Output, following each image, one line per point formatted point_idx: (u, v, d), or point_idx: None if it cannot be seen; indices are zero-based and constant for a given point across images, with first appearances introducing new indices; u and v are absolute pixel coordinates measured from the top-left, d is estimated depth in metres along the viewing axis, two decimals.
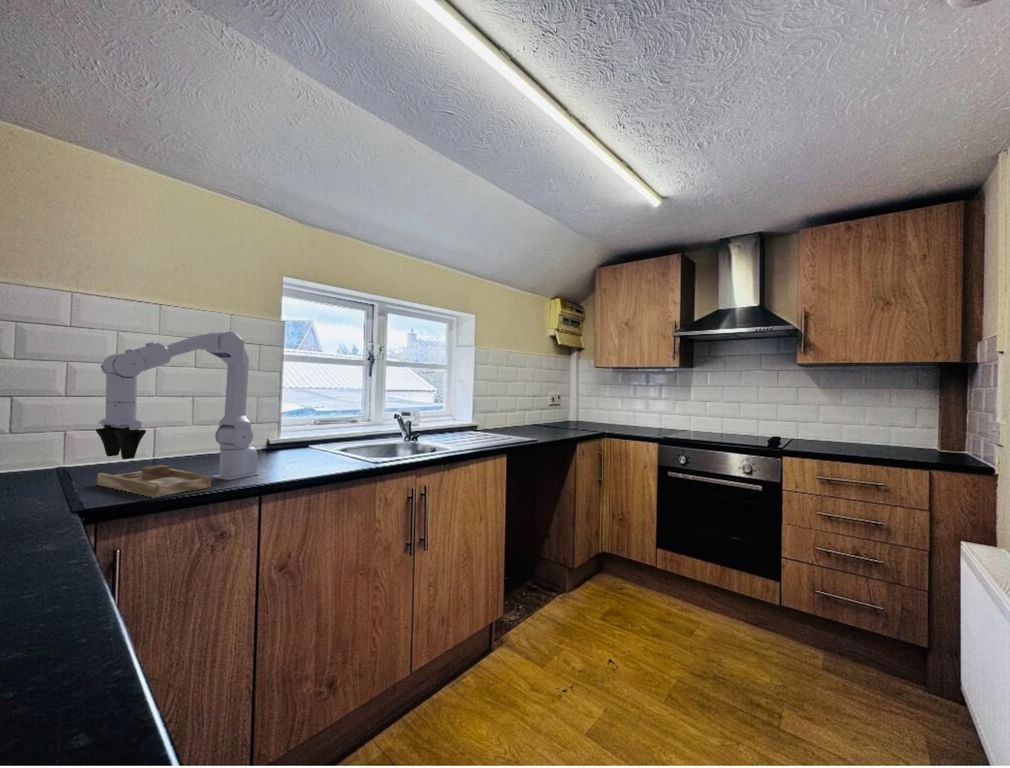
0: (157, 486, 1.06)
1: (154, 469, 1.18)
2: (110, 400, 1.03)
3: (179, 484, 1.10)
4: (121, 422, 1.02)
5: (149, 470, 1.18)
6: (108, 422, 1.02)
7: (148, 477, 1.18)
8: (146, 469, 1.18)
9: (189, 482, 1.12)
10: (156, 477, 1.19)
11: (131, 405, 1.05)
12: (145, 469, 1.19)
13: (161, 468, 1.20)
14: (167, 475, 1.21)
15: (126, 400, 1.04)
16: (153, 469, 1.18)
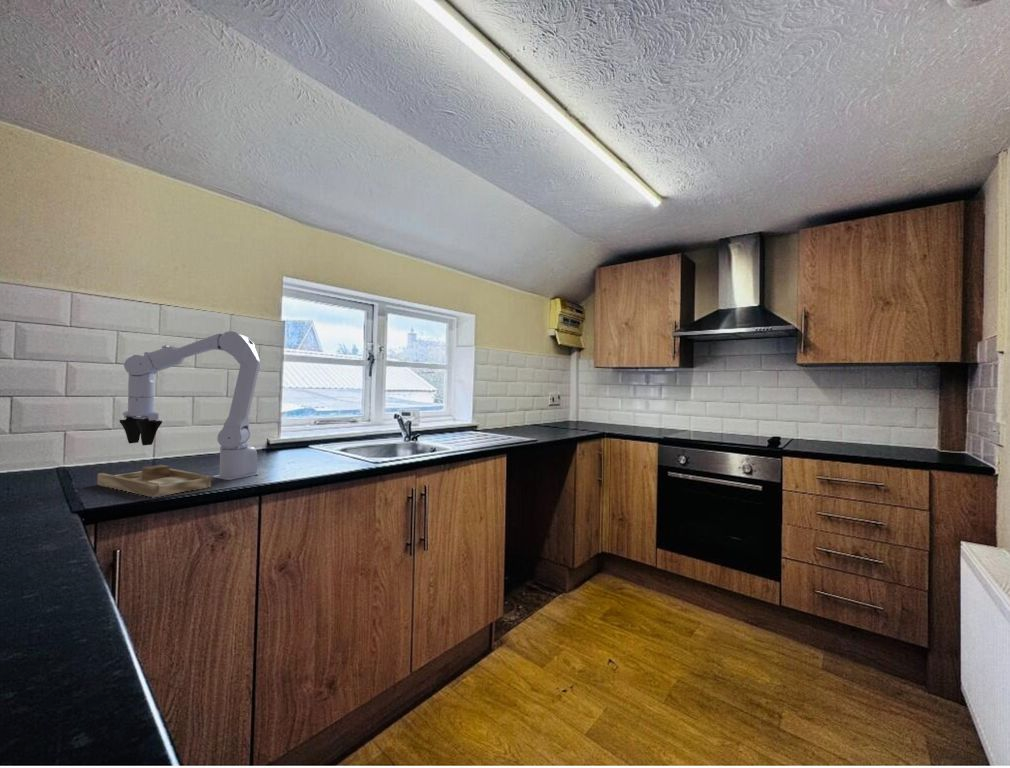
0: (157, 486, 1.06)
1: (154, 469, 1.18)
2: (128, 395, 1.22)
3: (179, 484, 1.10)
4: (141, 414, 1.21)
5: (149, 470, 1.18)
6: (130, 414, 1.21)
7: (148, 477, 1.18)
8: (146, 469, 1.18)
9: (189, 482, 1.12)
10: (156, 477, 1.19)
11: (149, 399, 1.24)
12: (145, 469, 1.19)
13: (161, 468, 1.20)
14: (167, 475, 1.21)
15: (135, 395, 1.21)
16: (153, 469, 1.18)
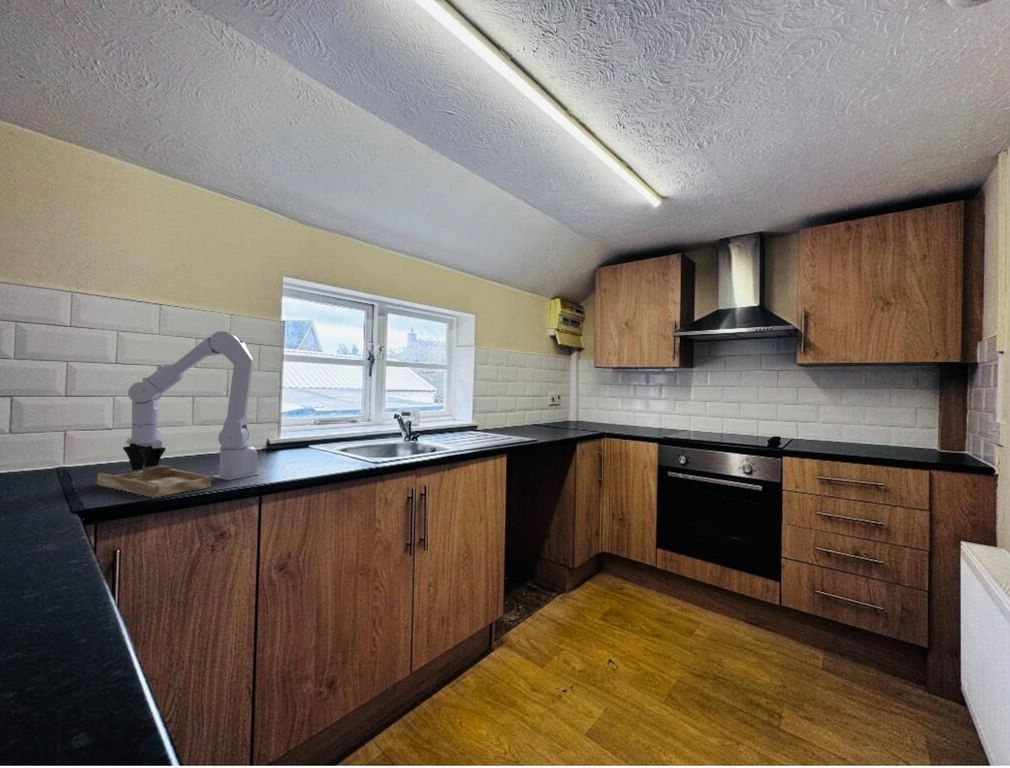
0: (157, 486, 1.06)
1: (155, 469, 1.18)
2: None
3: (179, 484, 1.10)
4: (145, 441, 1.20)
5: (150, 470, 1.17)
6: (134, 441, 1.20)
7: (149, 477, 1.18)
8: (147, 469, 1.18)
9: (189, 482, 1.12)
10: (157, 477, 1.18)
11: (153, 426, 1.23)
12: (146, 469, 1.18)
13: (162, 468, 1.19)
14: (168, 475, 1.21)
15: (139, 423, 1.20)
16: (154, 469, 1.18)
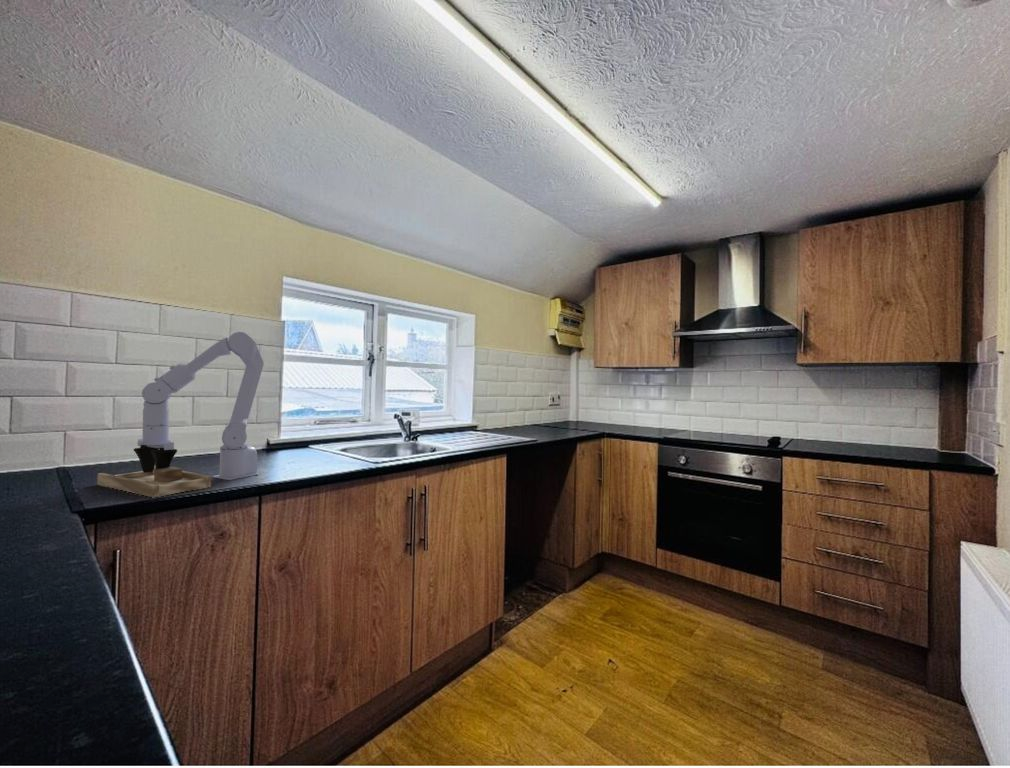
0: (157, 486, 1.06)
1: (167, 472, 1.15)
2: (143, 423, 1.18)
3: (179, 484, 1.10)
4: (157, 443, 1.17)
5: (162, 473, 1.15)
6: (145, 443, 1.17)
7: (161, 480, 1.15)
8: (158, 471, 1.15)
9: (189, 482, 1.12)
10: (169, 480, 1.16)
11: (164, 428, 1.20)
12: (157, 471, 1.16)
13: (174, 470, 1.17)
14: (180, 478, 1.18)
15: (153, 424, 1.18)
16: (166, 472, 1.15)
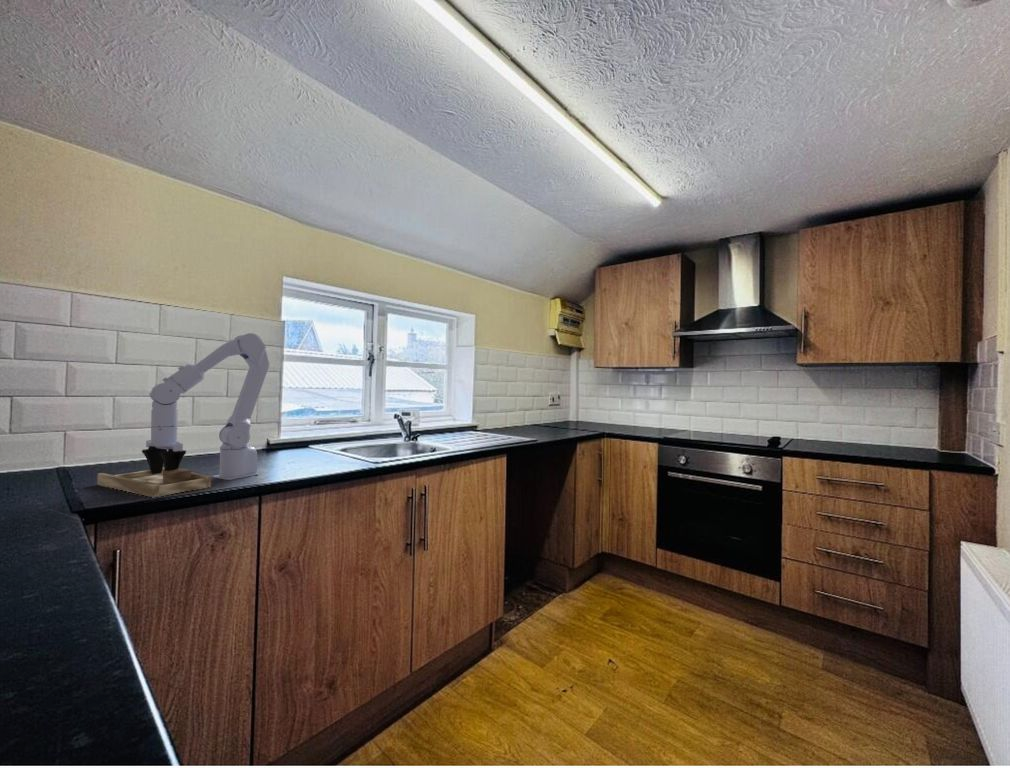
0: (157, 486, 1.06)
1: (176, 473, 1.13)
2: (152, 425, 1.16)
3: (179, 484, 1.10)
4: (165, 444, 1.15)
5: (171, 474, 1.13)
6: (153, 444, 1.16)
7: (169, 481, 1.13)
8: (167, 473, 1.14)
9: (189, 482, 1.12)
10: (178, 482, 1.14)
11: (173, 429, 1.18)
12: (166, 473, 1.14)
13: (183, 472, 1.15)
14: (189, 479, 1.16)
15: (165, 425, 1.17)
16: (175, 473, 1.13)
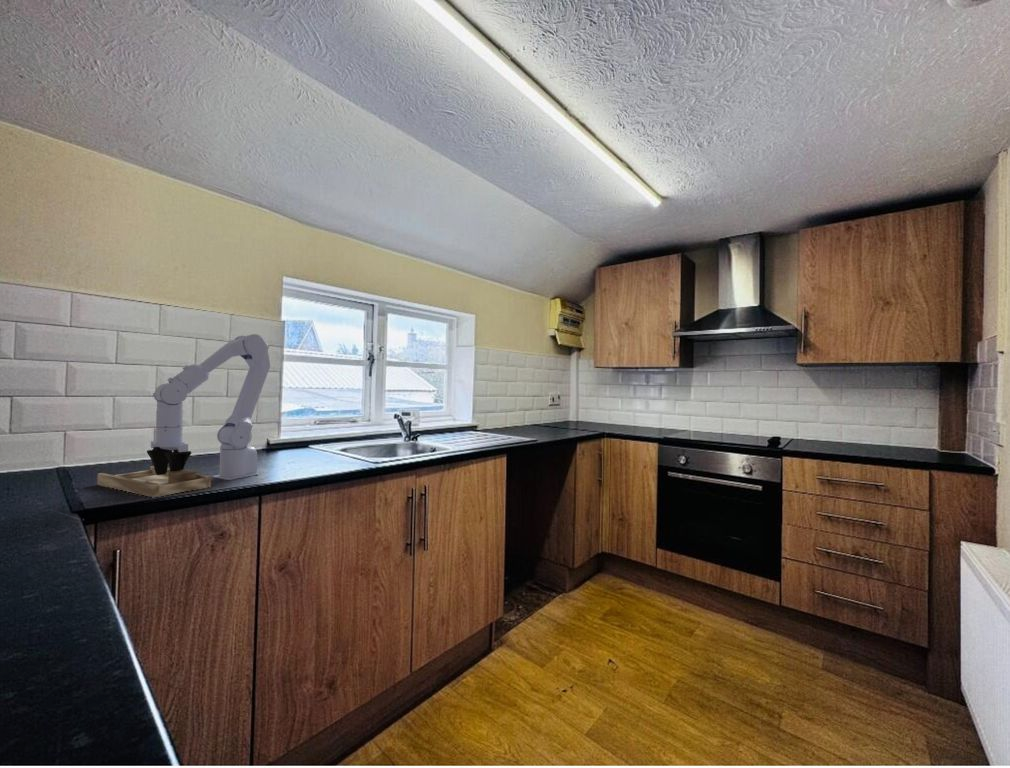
0: (157, 486, 1.06)
1: (181, 474, 1.12)
2: (159, 425, 1.15)
3: (179, 484, 1.10)
4: (170, 445, 1.14)
5: (176, 475, 1.12)
6: (158, 445, 1.14)
7: None
8: (173, 474, 1.12)
9: (189, 482, 1.12)
10: None
11: (178, 429, 1.17)
12: (172, 474, 1.13)
13: (188, 473, 1.14)
14: None
15: (172, 425, 1.16)
16: (180, 474, 1.12)
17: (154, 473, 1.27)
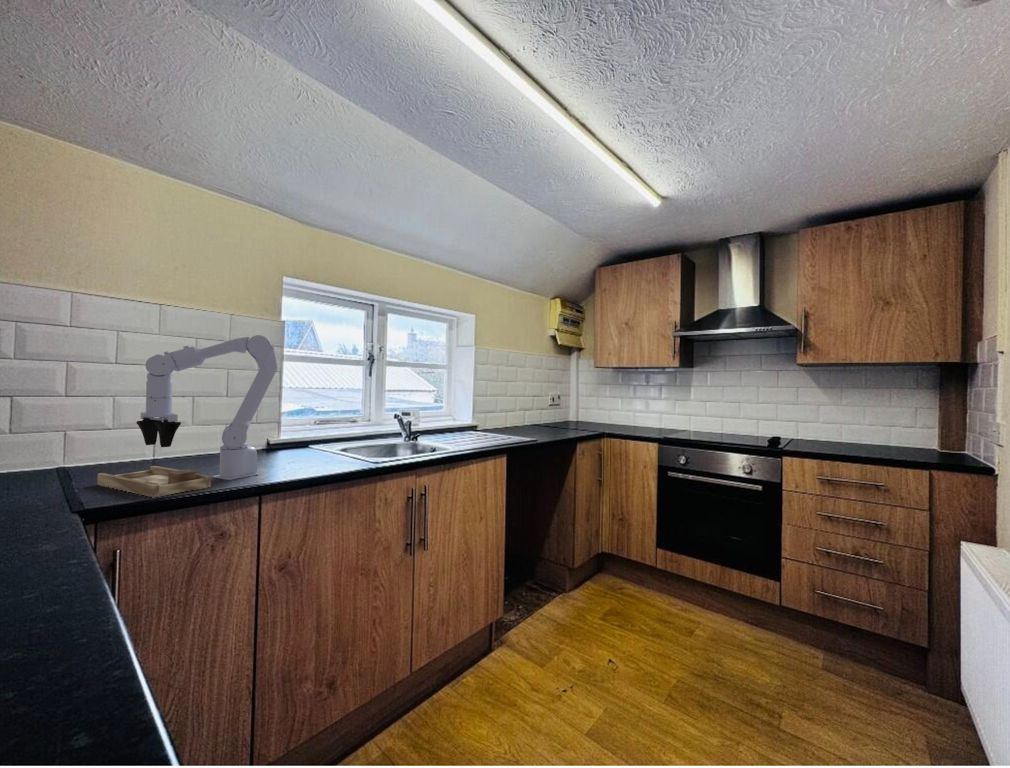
0: (157, 486, 1.06)
1: (181, 474, 1.12)
2: (146, 396, 1.18)
3: (179, 484, 1.10)
4: (160, 415, 1.18)
5: (176, 475, 1.12)
6: (148, 415, 1.18)
7: None
8: (173, 474, 1.12)
9: (189, 482, 1.12)
10: None
11: (168, 400, 1.21)
12: (172, 474, 1.13)
13: (188, 473, 1.14)
14: None
15: (157, 396, 1.18)
16: (180, 474, 1.12)
17: (154, 473, 1.27)
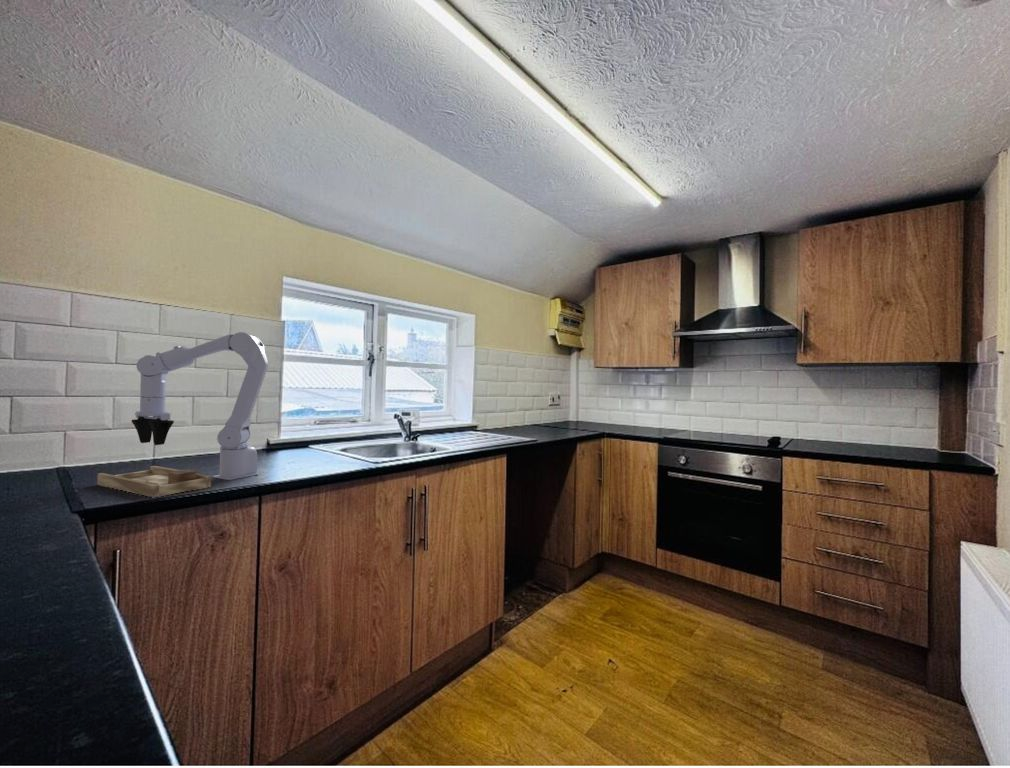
0: (157, 486, 1.06)
1: (181, 474, 1.12)
2: (140, 395, 1.23)
3: (179, 484, 1.10)
4: (154, 414, 1.22)
5: (176, 475, 1.12)
6: (142, 414, 1.22)
7: None
8: (173, 474, 1.12)
9: (189, 482, 1.12)
10: None
11: (161, 399, 1.25)
12: (172, 474, 1.13)
13: (188, 473, 1.14)
14: None
15: (147, 395, 1.22)
16: (180, 474, 1.12)
17: (154, 473, 1.27)
